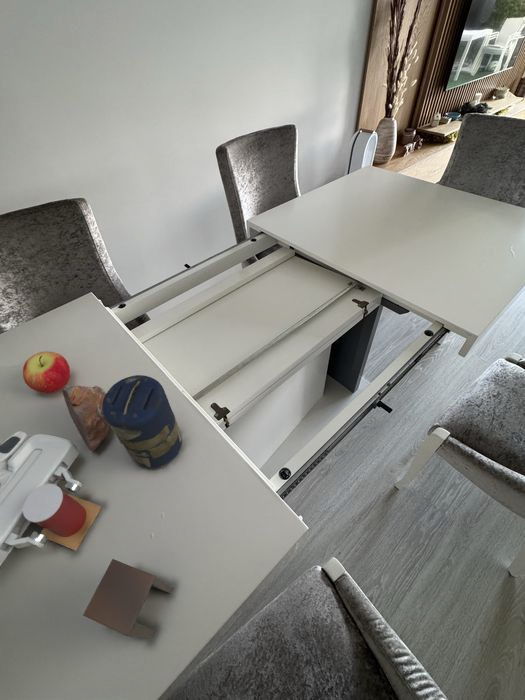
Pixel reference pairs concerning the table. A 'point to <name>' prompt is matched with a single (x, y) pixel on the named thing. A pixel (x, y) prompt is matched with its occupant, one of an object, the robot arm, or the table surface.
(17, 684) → the table surface
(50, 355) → the apple
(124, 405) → the canister
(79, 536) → the coaster
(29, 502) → the tube
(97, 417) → the stone
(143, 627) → the brown wooden stand
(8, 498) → the robot arm
